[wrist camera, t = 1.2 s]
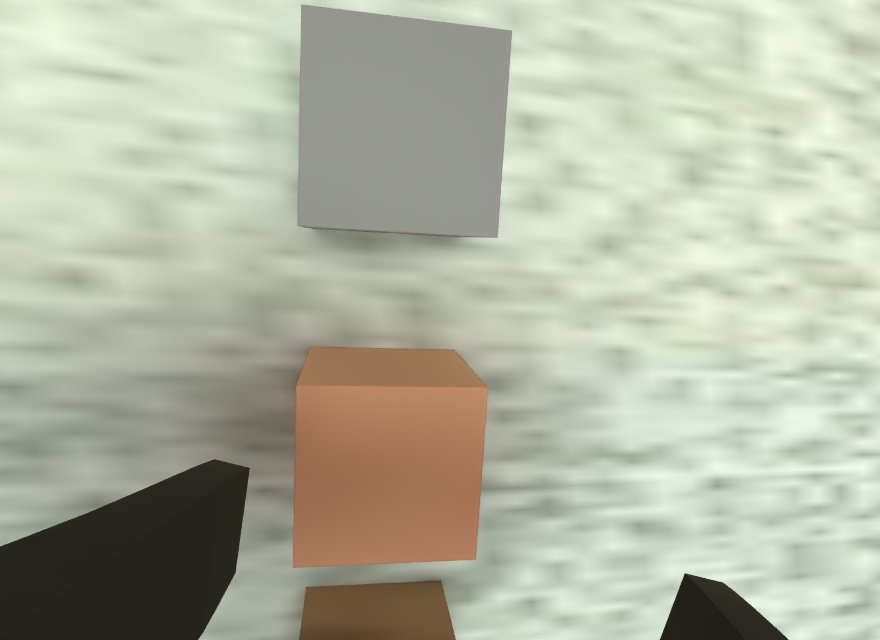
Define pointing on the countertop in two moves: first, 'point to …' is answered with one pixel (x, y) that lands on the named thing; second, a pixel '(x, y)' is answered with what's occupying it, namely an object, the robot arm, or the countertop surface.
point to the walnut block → (377, 612)
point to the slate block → (401, 124)
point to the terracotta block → (387, 457)
